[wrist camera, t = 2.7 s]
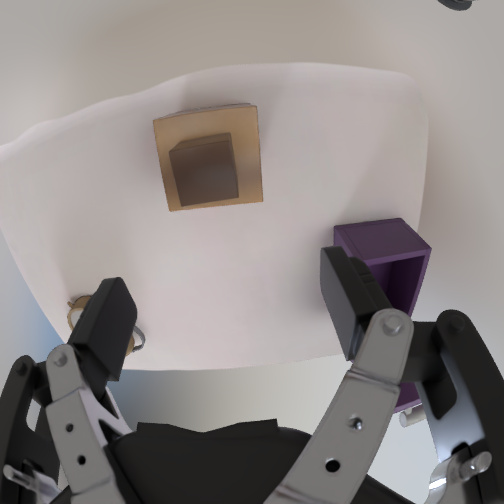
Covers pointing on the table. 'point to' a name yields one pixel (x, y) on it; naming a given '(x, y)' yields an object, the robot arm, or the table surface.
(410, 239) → the box
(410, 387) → the lid
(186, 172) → the block
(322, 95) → the table surface
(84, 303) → the alarm clock
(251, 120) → the stand
